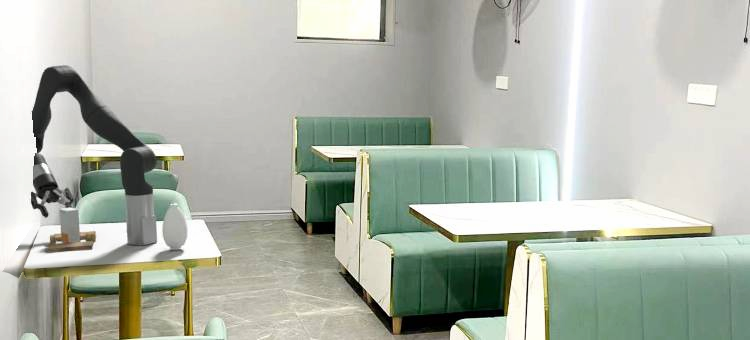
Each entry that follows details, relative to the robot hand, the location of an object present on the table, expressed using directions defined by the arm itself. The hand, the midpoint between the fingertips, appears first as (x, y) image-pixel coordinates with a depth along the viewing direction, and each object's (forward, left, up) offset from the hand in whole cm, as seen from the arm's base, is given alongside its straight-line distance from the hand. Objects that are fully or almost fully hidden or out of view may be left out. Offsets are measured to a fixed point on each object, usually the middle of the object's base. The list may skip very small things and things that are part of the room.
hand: (59, 214), depth 261 cm
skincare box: (-7, +1, -9) cm, 12 cm away
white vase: (-46, -11, -9) cm, 48 cm away
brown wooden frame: (-8, 0, -9) cm, 12 cm away
